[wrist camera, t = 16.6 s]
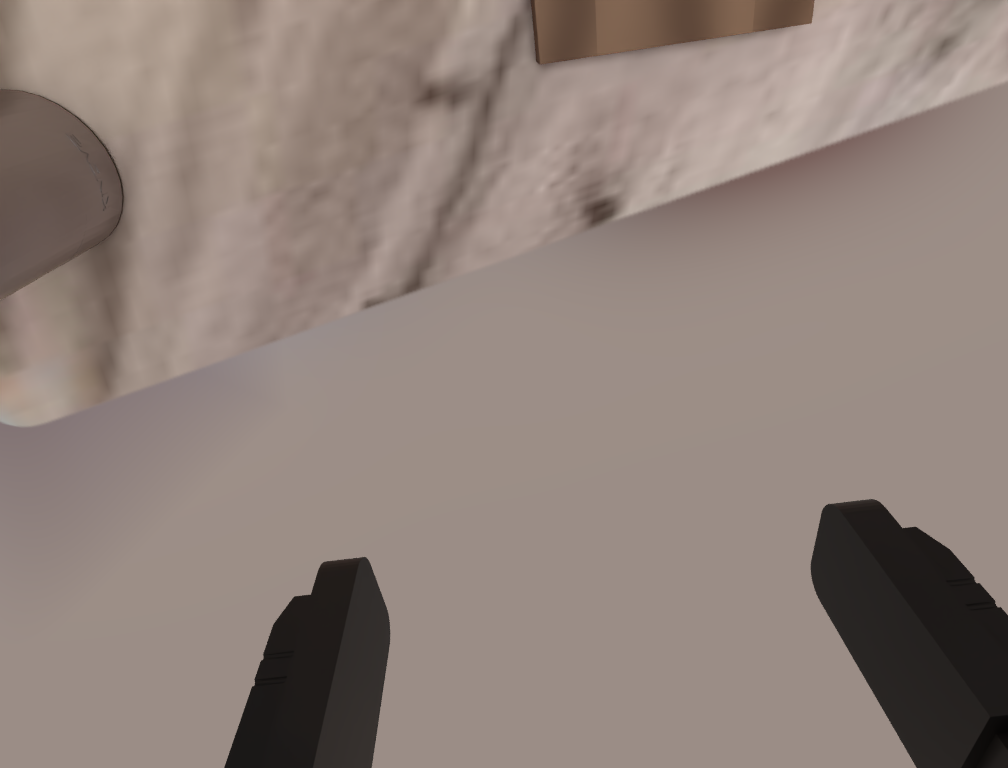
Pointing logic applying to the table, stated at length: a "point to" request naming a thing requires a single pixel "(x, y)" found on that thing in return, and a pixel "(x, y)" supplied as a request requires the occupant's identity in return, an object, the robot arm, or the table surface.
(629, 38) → the frame
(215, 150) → the table surface
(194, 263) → the table surface
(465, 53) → the table surface
